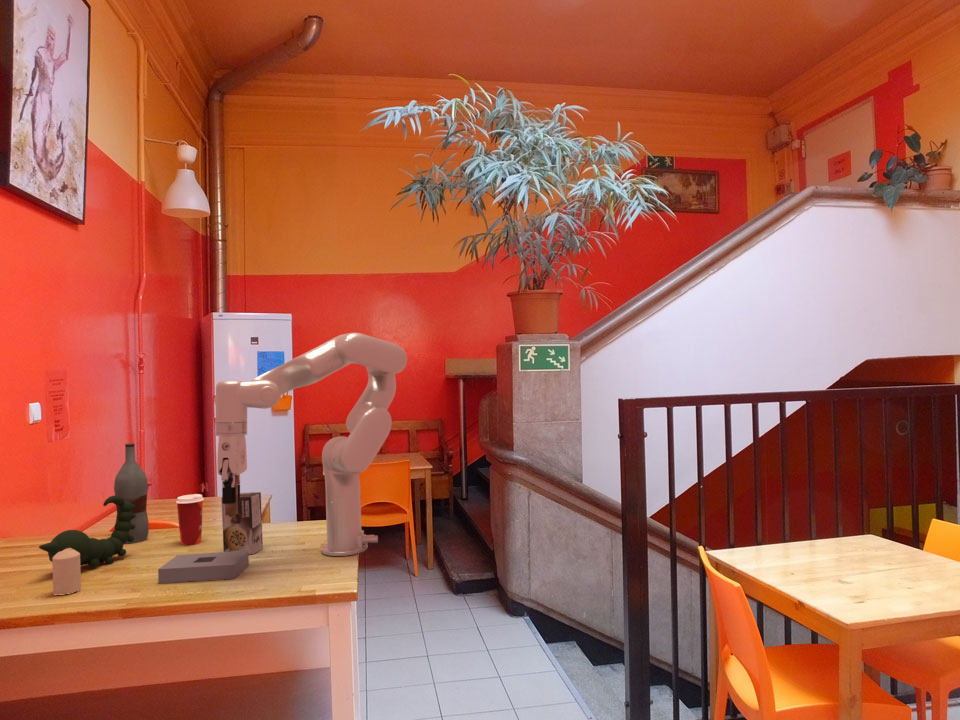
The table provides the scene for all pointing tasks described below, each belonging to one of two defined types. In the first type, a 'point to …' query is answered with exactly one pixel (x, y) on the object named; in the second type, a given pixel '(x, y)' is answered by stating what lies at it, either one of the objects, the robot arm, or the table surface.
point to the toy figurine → (92, 547)
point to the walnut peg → (233, 508)
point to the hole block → (203, 567)
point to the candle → (66, 572)
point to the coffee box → (244, 525)
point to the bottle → (133, 493)
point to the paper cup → (190, 518)
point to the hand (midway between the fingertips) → (231, 501)
